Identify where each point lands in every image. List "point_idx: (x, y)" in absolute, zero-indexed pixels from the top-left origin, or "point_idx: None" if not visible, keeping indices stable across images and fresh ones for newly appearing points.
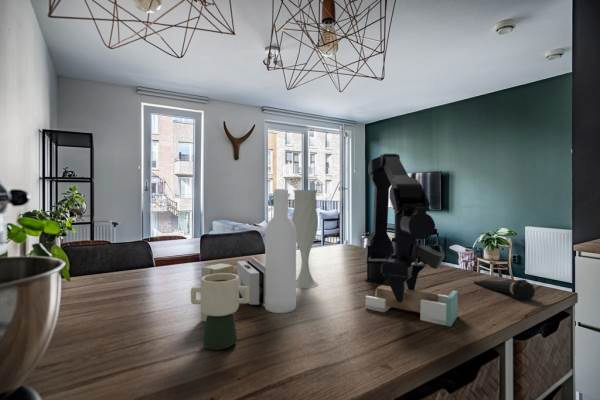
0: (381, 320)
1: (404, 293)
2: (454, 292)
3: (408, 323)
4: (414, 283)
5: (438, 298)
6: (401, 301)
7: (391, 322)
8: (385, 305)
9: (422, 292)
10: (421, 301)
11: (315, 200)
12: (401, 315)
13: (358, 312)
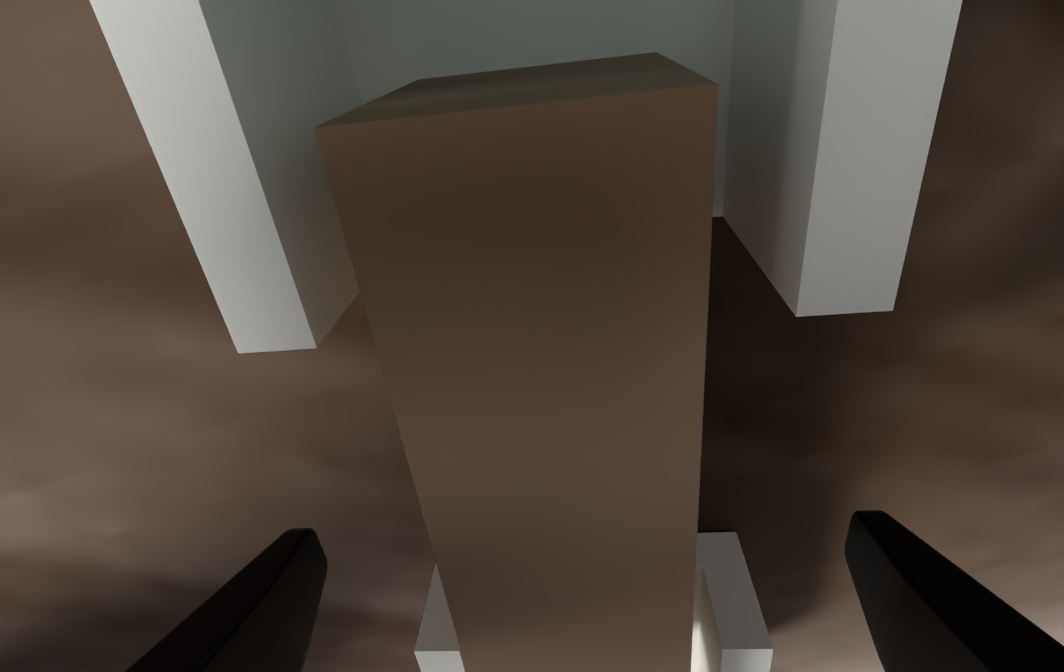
0: (979, 483)
1: (692, 601)
2: None
3: (958, 262)
4: (225, 660)
5: (277, 122)
6: (891, 522)
7: (1001, 403)
8: (728, 586)
9: (449, 427)
10: (891, 284)
11: None
12: (724, 401)
13: (852, 654)
